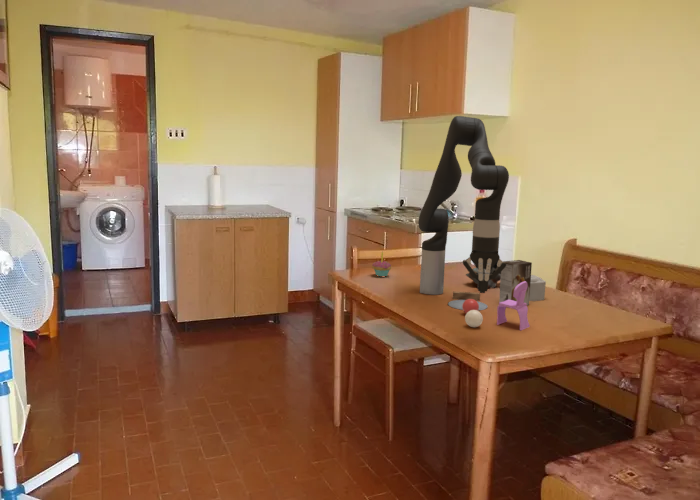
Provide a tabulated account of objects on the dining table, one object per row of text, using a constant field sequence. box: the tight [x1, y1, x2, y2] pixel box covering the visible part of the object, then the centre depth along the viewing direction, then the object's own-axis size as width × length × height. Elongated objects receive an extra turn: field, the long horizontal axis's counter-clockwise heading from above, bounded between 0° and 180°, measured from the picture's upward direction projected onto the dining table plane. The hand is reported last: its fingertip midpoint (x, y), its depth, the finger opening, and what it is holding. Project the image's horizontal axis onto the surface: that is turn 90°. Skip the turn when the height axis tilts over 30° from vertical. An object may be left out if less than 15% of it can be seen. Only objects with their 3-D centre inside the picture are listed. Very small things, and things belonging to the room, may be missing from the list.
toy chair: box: [496, 281, 530, 331], centre depth 175 cm, size 8×9×15 cm
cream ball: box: [464, 310, 484, 328], centre depth 173 cm, size 6×6×6 cm
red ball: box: [462, 299, 479, 315], centre depth 187 cm, size 6×6×6 cm
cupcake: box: [371, 250, 392, 277], centre depth 243 cm, size 9×8×12 cm
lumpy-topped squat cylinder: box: [529, 274, 547, 302], centre depth 212 cm, size 10×13×9 cm
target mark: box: [447, 299, 488, 312], centre depth 199 cm, size 14×14×1 cm
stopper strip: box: [452, 291, 481, 302], centre depth 208 cm, size 10×2×2 cm, turn 82°
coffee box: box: [498, 259, 533, 306], centre depth 200 cm, size 9×6×16 cm
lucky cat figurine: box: [465, 262, 501, 289], centre depth 230 cm, size 15×12×14 cm
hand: (482, 292), depth 162 cm, fingers closed
